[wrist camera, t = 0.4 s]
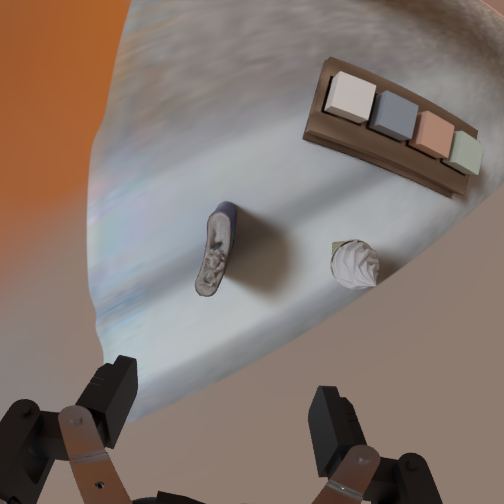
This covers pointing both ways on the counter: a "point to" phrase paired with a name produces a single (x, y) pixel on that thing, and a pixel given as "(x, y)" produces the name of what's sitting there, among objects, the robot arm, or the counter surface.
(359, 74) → the brown wooden tray
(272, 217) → the counter surface
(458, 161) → the sage key
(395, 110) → the slate key
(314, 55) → the counter surface
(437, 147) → the terracotta key
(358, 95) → the ivory key
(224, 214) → the flask
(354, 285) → the ice cream cone
